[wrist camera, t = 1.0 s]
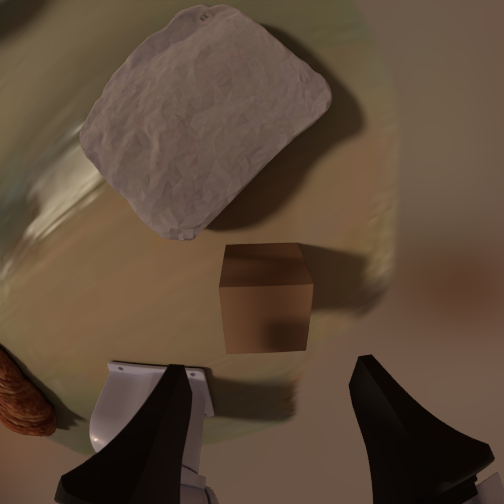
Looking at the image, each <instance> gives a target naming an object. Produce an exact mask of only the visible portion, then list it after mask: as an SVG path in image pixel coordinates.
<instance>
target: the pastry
mask: <svg viewBox="0 0 504 504" xmlns="http://www.w3.org/2000/svg"><path fill="white" fill-rule="evenodd" d="M0 421H1V423H2V424H4V425H5V426H6V427H7V428H9V429H10V430H12V431H14V432H17V433H19V434H23V435H31V436H41V437H42V436H50V435H52V434H53V433H54V432H55V430H56V424H57V421H56V417H55V409H54V406H53V405H52V404H51V403H50V402H49V401H48V400H47V399H46V398H45V396H44V395H43V394H42V392H41V391H40V390H39V389H38V388H37V387H36V386H35V385H34V384H33V383H32V382H31V381H30V380H29V379H28V378H27V377H26V376H25V375H24V374H23V373H22V371H21V369H20V368H19V366H18V365H17V364H16V363H15V361H13V360H12V358H11V357H10V356H9V355H8V353H7V352H6V351H4V350H2V349H1V348H0Z"/></svg>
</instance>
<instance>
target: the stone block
mask: <svg viewBox="0 0 504 504" xmlns="http://www.w3.org/2000/svg"><path fill="white" fill-rule="evenodd" d="M331 102H332V93H331V89H330V86H329V84H328V83H327V81H326V80H325V79H324V78H323V77H322V76H321V75H320V74H319V73H317V72H315V71H314V70H312V69H311V67H310V66H309V65H308V64H307V63H305V62H304V61H302V60H301V59H299V58H298V57H297V56H295V55H294V54H293V53H292V52H291V51H290V50H289V49H288V48H286V47H285V46H284V45H283V44H282V43H281V42H280V41H279V40H277V39H276V38H275V37H274V36H272V35H271V34H270V33H269V32H268V31H267V30H266V29H265V28H264V27H262V26H261V25H259V24H258V23H256V22H255V21H253V20H252V19H251V18H249V17H248V16H247V15H245V14H244V13H243V12H241V11H240V10H238V9H236V8H233V7H231V6H228V5H225V4H220V5H216V6H213V7H211V6H208V5H206V4H200V5H197V6H194V7H191V8H187V9H183V10H182V11H180V12H179V13H177V14H176V15H175V16H174V18H173V19H172V20H171V21H170V23H169V24H168V25H167V26H166V27H164V28H163V29H162V30H160V31H157V32H155V33H153V34H152V35H150V36H149V37H148V38H147V39H146V40H144V41H143V42H142V43H141V44H140V45H139V46H138V47H137V48H136V49H135V50H134V51H133V52H132V54H131V55H130V56H129V57H128V58H127V61H126V62H125V63H124V64H123V65H122V66H121V67H120V68H119V69H118V70H117V71H116V72H115V73H114V74H113V76H112V77H111V79H110V80H109V82H108V83H107V84H106V86H105V88H104V90H103V93H102V96H101V97H100V98H99V99H98V100H97V101H95V104H94V106H93V108H92V110H91V112H90V113H89V115H88V117H87V119H86V121H85V123H84V125H83V127H82V129H81V132H80V135H79V136H80V142H81V147H82V149H83V152H84V154H85V155H86V157H87V158H88V159H89V160H90V161H91V162H92V163H93V164H94V166H95V167H96V168H97V169H98V171H99V172H100V174H101V175H102V176H103V177H104V178H105V180H106V181H107V182H108V183H109V184H110V185H111V186H112V188H113V189H114V190H116V191H117V192H118V193H120V194H121V195H122V196H123V197H124V198H125V199H126V200H127V201H128V202H129V204H130V205H131V207H132V208H133V210H134V211H135V212H136V213H137V215H138V216H139V217H140V218H141V220H142V221H143V222H144V223H145V224H146V225H147V226H148V227H149V228H150V229H151V230H153V231H154V232H156V233H157V234H159V235H160V236H161V237H162V238H167V239H171V240H174V239H176V240H181V241H183V240H192V239H194V238H195V237H196V236H197V235H198V234H199V233H200V232H201V231H202V230H203V229H204V228H205V227H206V226H207V225H209V224H210V223H211V222H212V221H213V220H214V219H215V218H216V217H217V216H218V215H219V214H220V213H221V211H222V210H223V209H224V208H225V207H226V206H227V205H228V204H229V203H230V202H231V201H232V200H233V199H234V198H235V197H236V196H237V195H238V194H239V193H240V192H241V191H242V190H243V189H244V188H245V187H246V186H247V185H248V184H249V183H250V182H251V180H252V179H253V178H254V177H255V176H256V175H257V174H258V173H259V172H260V171H261V170H262V169H263V168H264V166H265V165H266V164H267V163H268V162H269V161H270V160H272V159H273V158H274V157H275V156H276V155H277V154H278V153H279V152H280V151H281V150H282V149H283V148H284V147H286V146H287V145H288V144H289V143H290V142H291V141H292V140H293V139H294V138H295V137H297V136H298V135H299V134H300V133H302V132H303V131H305V130H306V129H307V128H309V127H310V126H311V125H312V124H314V123H315V122H316V121H317V120H318V119H319V118H320V117H321V116H322V115H324V113H325V112H326V111H327V110H328V109H329V107H330V106H331Z"/></svg>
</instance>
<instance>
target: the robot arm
mask: <svg viewBox="0 0 504 504" xmlns="http://www.w3.org/2000/svg"><path fill="white" fill-rule="evenodd" d="M107 366H108V368H109V370H110V372H109V374H108V377H107V379H106V381H105V384H104V386H103V389H102V391H101V393H100V396H99V398H98V401H97V403H96V406H95V408H94V411H93V413H92V417H91V421H90V439H91V443H92V445H93V448H94V449H95V451H96V452H97V453H96V454H95V455H93V456H92V457H91V458H89V459H88V460H87V461H85V462H84V463H83V464H81V465H80V466H78V467H76V468H75V469H73V470H71V471H70V472H68V473H66V474H64V475H62V476H61V479H60V481H59V484H58V487H57V491H56V495H55V498H54V500H55V501H56V502H57V503H59V504H219V502H218V499H217V497H216V495H215V493H214V492H213V490H212V489H211V488H210V487H208V486H205V483H206V477H204V476H201V475H198V474H199V462H200V452H201V442H202V432H203V423H204V417H213V416H214V413H215V412H214V409H213V405H212V401H211V397H210V392H209V388H208V384H207V380H206V375H205V372H204V370H202V369H199V368H185V366H184V365H177V364H170V365H168V367H161V366H148V365H138V364H128V363H119V362H109V363H108V365H107ZM349 390H350V396H351V400H352V405H353V408H354V412H355V415H356V418H357V421H358V424H359V427H360V430H361V433H362V436H363V439H364V442H365V446H366V450H367V454H368V460H369V465H370V472H371V480H372V491H373V504H504V487H503V484H502V482H501V479H500V476H499V474H498V472H496V473H494V474H493V475H492V476H490V477H489V478H487V479H486V480H484V481H483V482H481V483H480V484H478V485H477V486H475V483H474V482H476V481H477V477H476V474H477V473H479V472H480V471H482V470H483V469H484V468H486V467H487V466H488V465H490V464H491V463H492V462H493V461H494V459H495V457H494V455H493V453H492V451H491V448H490V446H489V445H488V444H486V443H484V442H481V441H478V440H476V439H473V438H471V437H469V436H467V435H465V434H463V433H460V432H458V431H457V430H455V429H453V428H452V427H450V426H448V425H447V424H445V423H444V422H442V421H440V420H439V419H438V418H436V417H435V416H434V415H432V414H431V413H430V412H428V411H427V410H426V409H424V408H423V407H422V406H421V405H420V404H419V403H418V402H417V401H415V400H414V399H413V398H412V397H411V396H410V395H409V394H408V393H407V392H406V391H405V390H404V389H403V388H402V387H401V386H400V385H399V384H398V383H397V382H396V381H395V380H394V379H393V377H392V376H391V375H390V374H389V373H388V372H387V371H386V370H385V369H384V368H383V366H382V365H381V364H380V363H379V362H378V361H377V360H376V359H375V358H374V357H373V356H372V355H364V356H359V357H358V360H357V363H356V366H355V369H354V372H353V374H352V377H351V380H350V383H349Z"/></svg>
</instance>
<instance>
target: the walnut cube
mask: <svg viewBox="0 0 504 504" xmlns="http://www.w3.org/2000/svg"><path fill="white" fill-rule="evenodd" d="M313 287H314V283H313V281H312V278H311V275H310V273H309V270H308V268H307V265H306V263H305V260H304V258H303V255H302V253H301V250H300V248H299V245H298V243H267V244H234V245H226V247H225V253H224V259H223V265H222V271H221V278H220V284H219V293H220V302H221V312H222V321H223V329H224V338H225V346H226V354H242V353H273V352H290V351H305V350H306V345H307V338H308V331H309V323H310V314H311V306H312V297H313Z"/></svg>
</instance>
